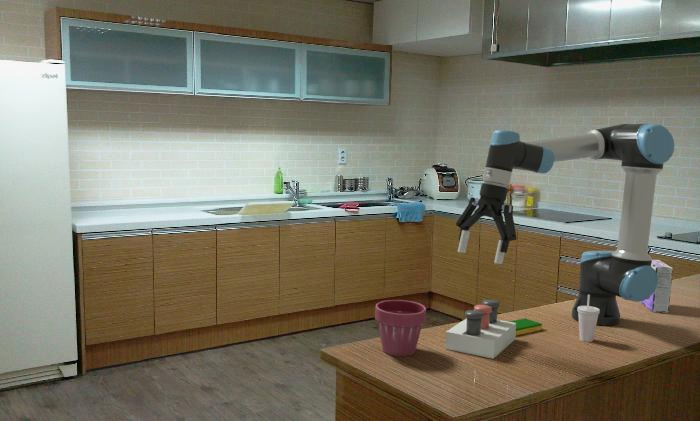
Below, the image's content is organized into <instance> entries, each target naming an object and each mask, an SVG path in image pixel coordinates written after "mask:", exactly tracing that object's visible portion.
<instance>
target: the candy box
mask: <svg viewBox="0 0 700 421" xmlns="http://www.w3.org/2000/svg"><path fill="white" fill-rule="evenodd" d="M651 267H652V268H653V269H655V271H656V273H657V274H658V285H657V288H656V290H655V291H654V293H653V294H652V295H650V296H649V298H647V299H646V300H643V301H640V303H641V304H642V305H643V304H644V306H645V308H647V309H648V308H649V309H650V310H651V311H650V310H649V309H648V310H649V311H650V312H651V313H657V312H669V311H670V301H671V300H670V299H671V293H672V284H673V283H672V280H673V272H674V267H672V266H670V265H668V264H666V263H665V262H663V261H661V260H660V259H652V264H651ZM669 313H670V312H669Z"/></svg>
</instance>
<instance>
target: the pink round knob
mask: <svg viewBox="0 0 700 421" xmlns="http://www.w3.org/2000/svg"><path fill="white" fill-rule="evenodd" d="M473 310H477V311H481V312H483V313H484V314H483V318H482V319H481V329H489V318H490V313H491V312H492V307H491V306H488V305H482V304H476V305H473Z"/></svg>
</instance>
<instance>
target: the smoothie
mask: <svg viewBox="0 0 700 421" xmlns="http://www.w3.org/2000/svg"><path fill="white" fill-rule="evenodd" d="M589 300H590V295H589V294H588V300H587V306H579V307H577V311H578V317H579V321H578V328H579V330H578V331H579V332H578V333H579V341H581V340H582V341H581V342H585V341H586V343H591V342H594V336H595V332H596V329H597V328H596V327H597V325H596V324H597V319H598V314H599V313H600V309H598V308H596V307H592V306H589Z"/></svg>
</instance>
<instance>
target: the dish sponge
mask: <svg viewBox="0 0 700 421" xmlns="http://www.w3.org/2000/svg"><path fill="white" fill-rule="evenodd" d="M508 322H513V323H516V334H515V337H516V336H520V335H523V334H528V333H533V332H539V331H542V330H543V329H542V328H543V323H541V322H539V321H535V320H531V319H529V318H526V317H525V318H524V317H523V318H520V319H519V318H518V319H515V320H510V321H508Z"/></svg>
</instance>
